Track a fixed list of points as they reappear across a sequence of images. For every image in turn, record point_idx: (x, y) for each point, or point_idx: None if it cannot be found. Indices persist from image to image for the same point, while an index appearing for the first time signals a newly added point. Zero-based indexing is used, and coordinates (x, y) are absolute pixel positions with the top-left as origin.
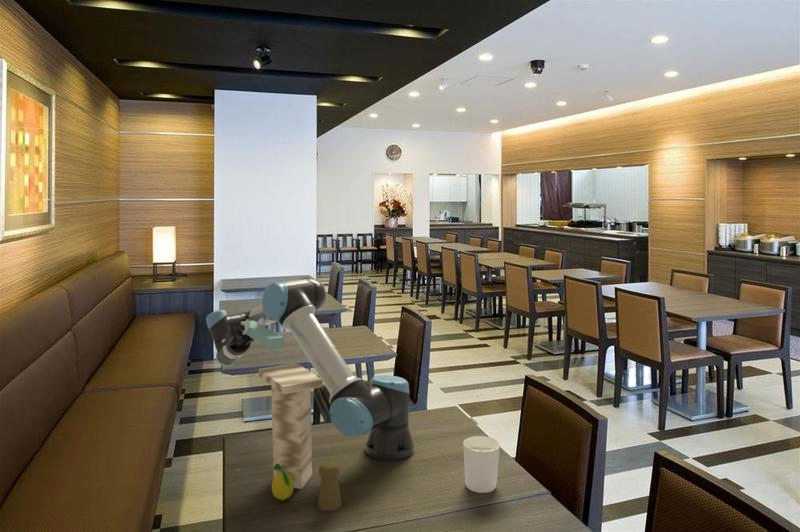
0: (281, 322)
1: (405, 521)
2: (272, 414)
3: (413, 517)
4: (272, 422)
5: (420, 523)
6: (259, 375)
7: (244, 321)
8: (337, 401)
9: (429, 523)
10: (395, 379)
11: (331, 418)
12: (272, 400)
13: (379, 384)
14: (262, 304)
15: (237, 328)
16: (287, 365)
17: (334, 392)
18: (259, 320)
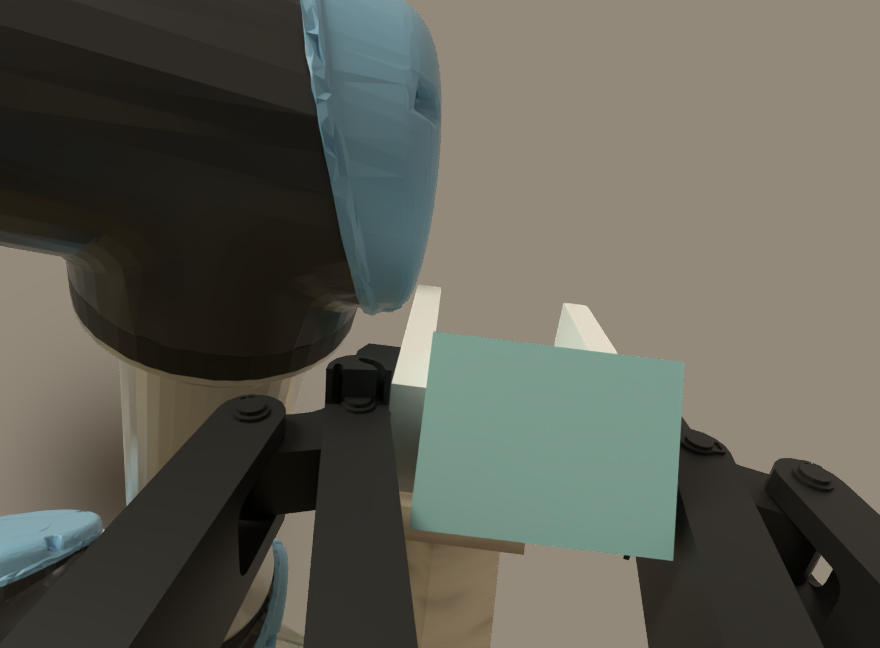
0: (351, 322)
1: (303, 644)
2: (491, 616)
3: (284, 643)
4: (489, 646)
5: (290, 633)
6: (523, 549)
7: (609, 353)
8: (287, 560)
9: (280, 628)
10: (15, 521)
11: (274, 646)
12: (495, 565)
13: (102, 528)
14: (438, 161)
15: (713, 453)
16: (401, 502)
17: (270, 553)
18: (437, 316)
